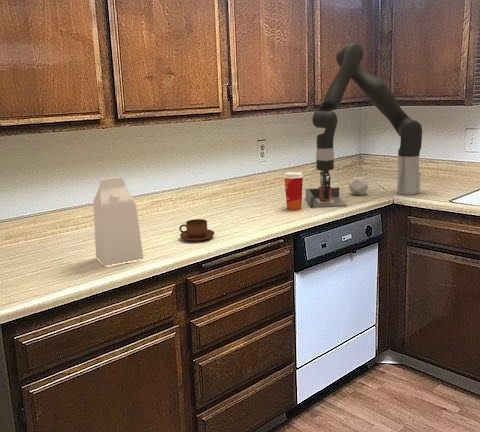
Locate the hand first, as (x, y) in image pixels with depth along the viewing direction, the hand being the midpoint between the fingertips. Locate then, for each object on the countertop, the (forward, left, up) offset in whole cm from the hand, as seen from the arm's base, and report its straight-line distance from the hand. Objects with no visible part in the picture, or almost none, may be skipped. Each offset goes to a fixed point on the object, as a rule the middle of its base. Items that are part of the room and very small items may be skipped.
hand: (325, 197), depth 236 cm
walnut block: (0, 0, -1) cm, 1 cm away
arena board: (0, 0, -2) cm, 2 cm away
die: (-17, -14, -3) cm, 23 cm away
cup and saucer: (+52, +48, -3) cm, 71 cm away
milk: (+76, +68, -3) cm, 102 cm away
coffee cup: (+15, +9, -3) cm, 17 cm away
